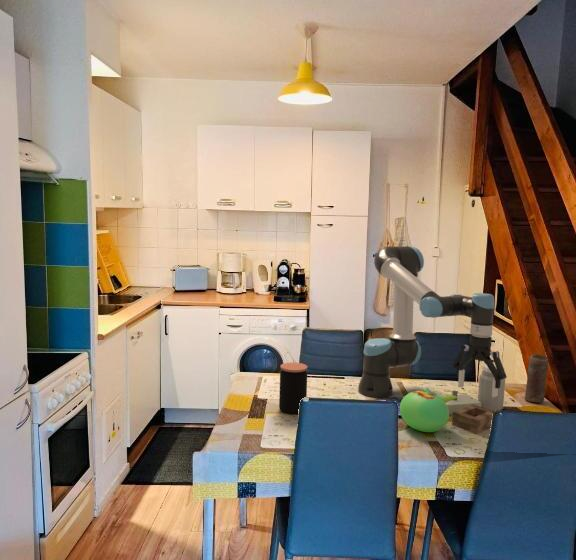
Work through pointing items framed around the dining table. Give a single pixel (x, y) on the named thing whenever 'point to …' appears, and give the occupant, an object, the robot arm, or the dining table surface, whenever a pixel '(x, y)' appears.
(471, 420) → the brown hollow cube
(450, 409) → the panel
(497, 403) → the jar
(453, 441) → the dining table surface
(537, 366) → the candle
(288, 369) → the coffee jar
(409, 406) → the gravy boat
